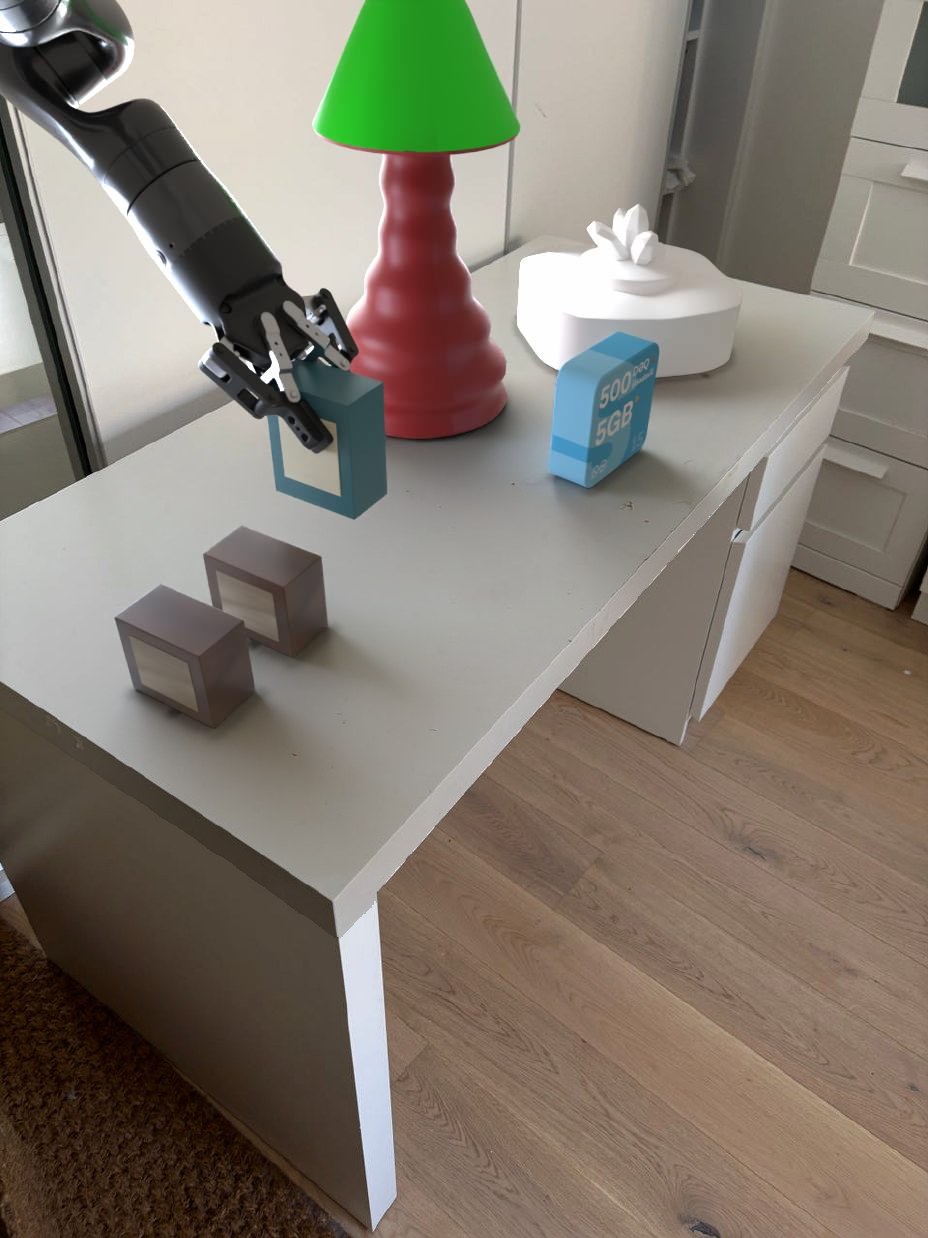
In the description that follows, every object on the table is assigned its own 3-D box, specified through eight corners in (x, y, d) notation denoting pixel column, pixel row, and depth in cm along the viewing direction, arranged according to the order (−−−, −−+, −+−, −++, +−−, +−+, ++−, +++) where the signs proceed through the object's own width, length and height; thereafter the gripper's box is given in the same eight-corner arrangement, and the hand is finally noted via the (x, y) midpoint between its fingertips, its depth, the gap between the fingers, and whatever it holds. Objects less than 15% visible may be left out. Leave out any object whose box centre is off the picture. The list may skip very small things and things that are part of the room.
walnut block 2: (292, 658, 76) (283, 588, 71) (214, 623, 79) (201, 553, 74) (328, 625, 79) (322, 556, 74) (252, 593, 82) (241, 524, 77)
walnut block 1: (213, 729, 70) (198, 657, 65) (133, 688, 73) (113, 617, 68) (256, 691, 73) (244, 620, 68) (176, 653, 76) (160, 582, 71)
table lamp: (366, 457, 99) (339, -83, 70) (309, 376, 113) (267, -103, 84) (537, 422, 106) (576, -86, 77) (463, 350, 119) (473, -104, 91)
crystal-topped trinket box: (558, 386, 112) (571, 246, 102) (501, 304, 131) (507, 178, 120) (754, 368, 117) (786, 232, 107) (673, 291, 136) (693, 169, 125)
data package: (584, 494, 95) (597, 380, 87) (546, 478, 97) (556, 366, 89) (645, 446, 102) (662, 338, 94) (609, 433, 104) (622, 326, 96)
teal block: (354, 520, 77) (347, 406, 70) (275, 490, 80) (261, 378, 73) (387, 493, 80) (383, 381, 73) (310, 466, 83) (300, 356, 76)
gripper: (155, 243, 64) (314, 452, 68) (291, 190, 74) (424, 375, 77) (115, 303, 70) (263, 494, 73) (246, 246, 79) (372, 417, 82)
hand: (345, 432), depth 75 cm, fingers closed on teal block, 4 cm apart
